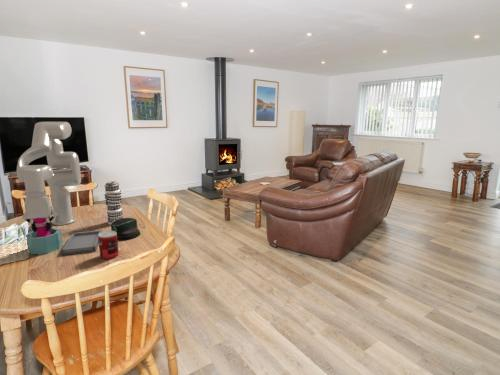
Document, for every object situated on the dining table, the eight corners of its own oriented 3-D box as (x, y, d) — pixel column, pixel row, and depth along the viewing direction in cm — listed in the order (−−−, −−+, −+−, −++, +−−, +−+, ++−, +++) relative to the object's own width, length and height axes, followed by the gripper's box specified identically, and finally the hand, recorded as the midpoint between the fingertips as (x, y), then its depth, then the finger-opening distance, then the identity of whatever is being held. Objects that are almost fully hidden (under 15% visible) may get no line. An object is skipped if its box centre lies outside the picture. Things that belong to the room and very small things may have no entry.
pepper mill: (57, 246, 151) (51, 207, 146) (43, 252, 144) (37, 212, 140) (46, 244, 153) (40, 206, 149) (32, 250, 147) (25, 210, 142)
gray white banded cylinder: (127, 221, 187) (123, 181, 182) (114, 225, 179) (110, 184, 174) (117, 218, 191) (113, 180, 186) (104, 223, 183) (99, 183, 178)
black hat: (137, 243, 156) (135, 226, 154) (97, 243, 156) (95, 226, 154) (148, 229, 175) (147, 213, 173) (113, 229, 175) (112, 214, 173)
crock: (34, 244, 153) (31, 229, 151) (64, 241, 157) (62, 226, 155) (23, 256, 141) (20, 240, 139) (57, 252, 145) (54, 236, 143)
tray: (73, 237, 162) (72, 233, 161) (102, 234, 166) (101, 230, 166) (62, 255, 142) (61, 250, 141) (95, 251, 146) (95, 246, 145)
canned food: (104, 252, 145) (101, 230, 142) (121, 251, 146) (119, 230, 143) (97, 259, 137) (94, 237, 135) (115, 259, 138) (113, 236, 136)
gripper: (11, 197, 137) (18, 235, 141) (54, 194, 142) (60, 231, 146) (18, 193, 144) (24, 229, 148) (59, 191, 149) (64, 226, 153)
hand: (42, 230), depth 147 cm, fingers closed on pepper mill, 5 cm apart
